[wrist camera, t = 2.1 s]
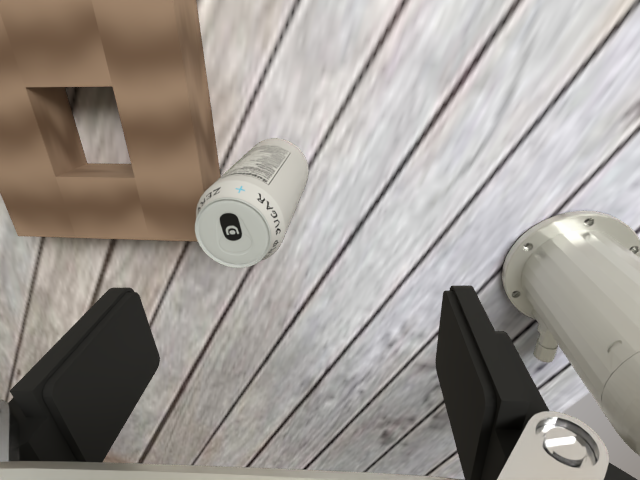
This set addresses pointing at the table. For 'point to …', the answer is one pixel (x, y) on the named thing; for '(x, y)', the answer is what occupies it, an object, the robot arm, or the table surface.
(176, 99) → the socket board
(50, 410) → the robot arm
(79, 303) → the table surface
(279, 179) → the energy drink can
